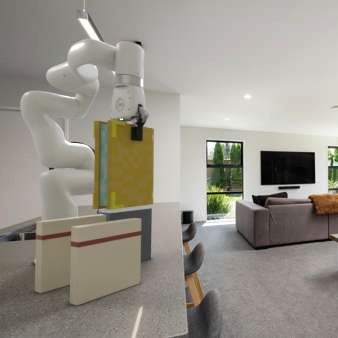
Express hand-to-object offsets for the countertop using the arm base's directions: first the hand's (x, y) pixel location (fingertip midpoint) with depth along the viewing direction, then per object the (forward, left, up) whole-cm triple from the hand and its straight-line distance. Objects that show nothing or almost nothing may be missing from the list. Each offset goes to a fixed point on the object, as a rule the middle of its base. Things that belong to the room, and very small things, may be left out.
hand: (128, 140), depth 89 cm
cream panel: (+11, -11, -41) cm, 44 cm away
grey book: (-8, +6, -41) cm, 42 cm away
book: (+1, 0, -20) cm, 20 cm away
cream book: (-5, -11, -41) cm, 43 cm away
